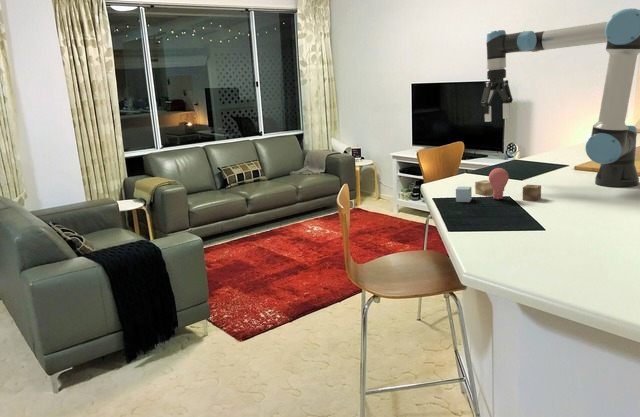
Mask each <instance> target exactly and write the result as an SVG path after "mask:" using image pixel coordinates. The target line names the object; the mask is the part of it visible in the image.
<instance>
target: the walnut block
mask: <svg viewBox="0 0 640 417" xmlns="http://www.w3.org/2000/svg"><path fill="white" fill-rule="evenodd" d="M541 199H542V185H540V184H525V185H524V186H522V201H529V202H530V201H532V202H538V201H539V200H541Z"/></svg>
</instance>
